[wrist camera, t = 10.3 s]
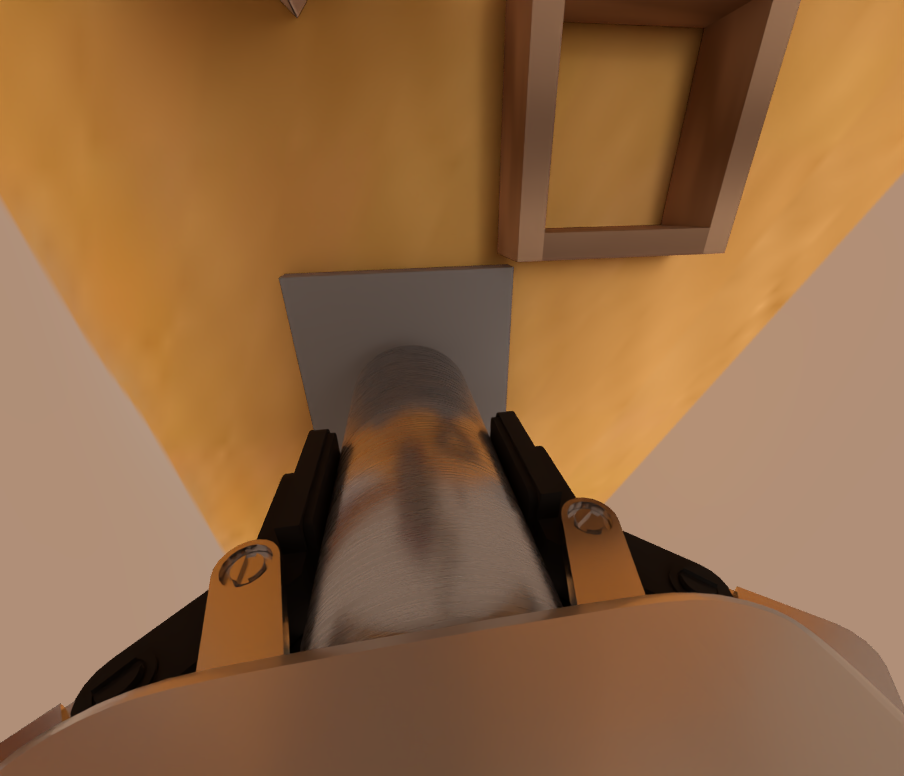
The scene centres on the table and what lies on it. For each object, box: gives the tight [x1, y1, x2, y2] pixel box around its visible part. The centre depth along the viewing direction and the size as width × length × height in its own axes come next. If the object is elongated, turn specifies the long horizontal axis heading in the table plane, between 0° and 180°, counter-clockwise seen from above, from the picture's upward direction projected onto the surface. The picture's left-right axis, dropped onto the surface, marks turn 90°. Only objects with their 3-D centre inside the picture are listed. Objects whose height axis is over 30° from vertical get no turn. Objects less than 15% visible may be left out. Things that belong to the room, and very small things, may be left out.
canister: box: [300, 345, 563, 652], centre depth 11 cm, size 5×5×12 cm
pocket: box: [497, 0, 801, 262], centre depth 14 cm, size 9×9×3 cm
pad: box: [279, 264, 514, 454], centre depth 18 cm, size 10×10×1 cm
